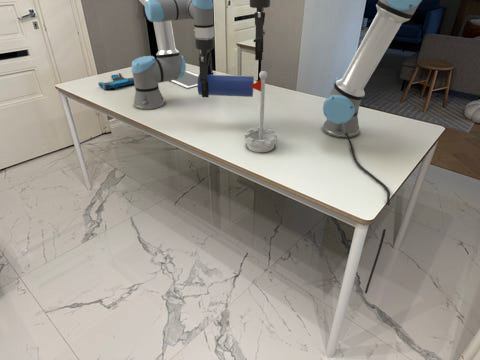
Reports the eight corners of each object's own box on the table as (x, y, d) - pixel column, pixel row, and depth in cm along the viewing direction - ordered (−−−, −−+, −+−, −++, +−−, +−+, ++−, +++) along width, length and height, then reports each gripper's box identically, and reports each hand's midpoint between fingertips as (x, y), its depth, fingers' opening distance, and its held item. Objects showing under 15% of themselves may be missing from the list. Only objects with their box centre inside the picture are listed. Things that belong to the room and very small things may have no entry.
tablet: (159, 76, 219) (159, 75, 219) (186, 70, 230) (186, 70, 230) (187, 88, 199) (187, 87, 198) (214, 81, 210) (214, 80, 210)
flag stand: (268, 136, 145) (271, 64, 128) (282, 150, 134) (288, 73, 118) (239, 141, 141) (239, 68, 124) (252, 155, 130) (253, 77, 114)
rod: (253, 93, 150) (253, 73, 145) (251, 99, 143) (252, 79, 138) (202, 91, 152) (201, 71, 147) (198, 97, 145) (196, 77, 140)
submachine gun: (142, 67, 226) (160, 73, 209) (143, 73, 228) (161, 80, 211) (90, 77, 207) (106, 85, 191) (92, 83, 209) (108, 91, 193)
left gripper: (200, 32, 144) (203, 85, 157) (189, 43, 127) (193, 101, 139) (218, 33, 144) (219, 85, 156) (208, 44, 126) (211, 102, 138)
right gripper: (251, -8, 134) (251, 49, 145) (247, -2, 113) (248, 63, 124) (270, -8, 133) (269, 49, 145) (270, -3, 112) (268, 63, 124)
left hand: (207, 93), depth 148 cm, fingers closed on rod, 8 cm apart
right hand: (259, 55), depth 134 cm, fingers open, 13 cm apart
